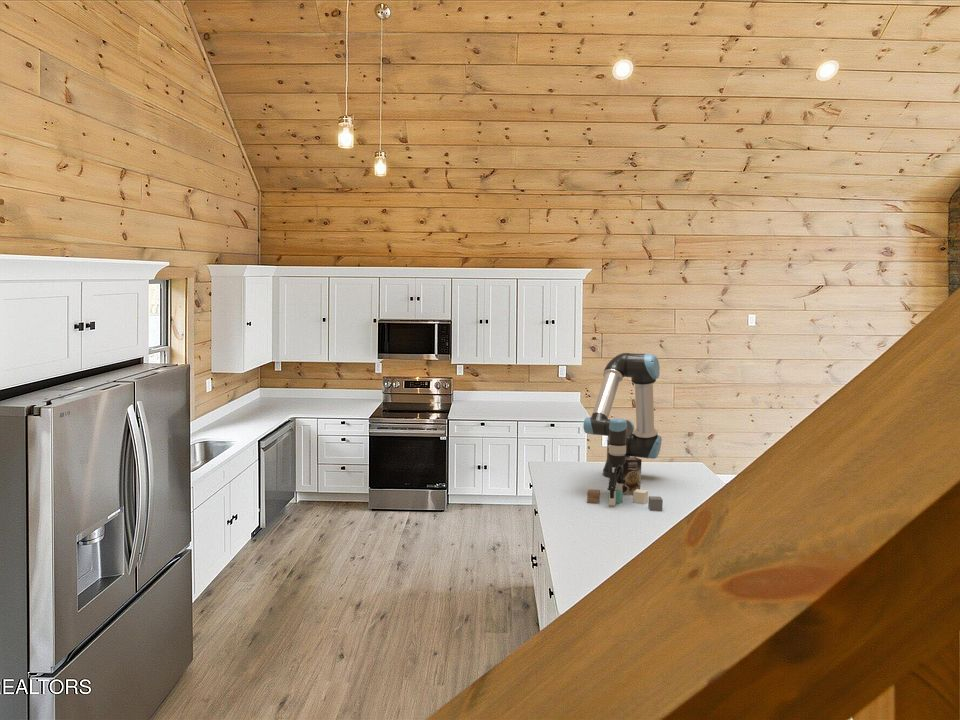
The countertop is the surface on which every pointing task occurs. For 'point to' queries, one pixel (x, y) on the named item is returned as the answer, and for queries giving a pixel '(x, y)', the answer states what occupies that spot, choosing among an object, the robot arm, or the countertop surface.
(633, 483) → the coffee box
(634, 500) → the cream cube
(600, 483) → the countertop surface
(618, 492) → the teal cube
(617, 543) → the countertop surface
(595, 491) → the walnut cube
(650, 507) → the charcoal cube
